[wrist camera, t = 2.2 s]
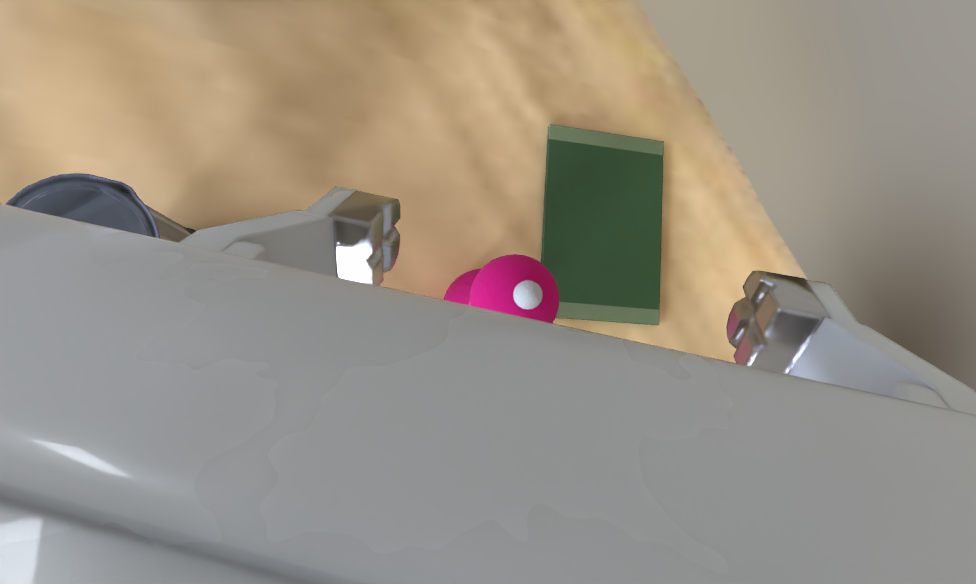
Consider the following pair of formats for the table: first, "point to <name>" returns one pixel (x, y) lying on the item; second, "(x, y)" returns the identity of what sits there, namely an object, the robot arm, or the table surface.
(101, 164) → the table surface
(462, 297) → the pepper mill
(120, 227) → the milk frother
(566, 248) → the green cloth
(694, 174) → the table surface
